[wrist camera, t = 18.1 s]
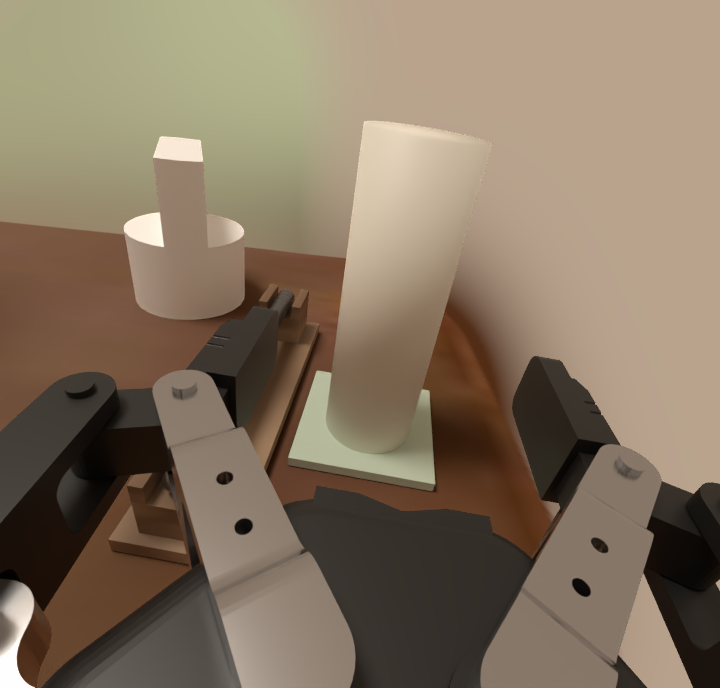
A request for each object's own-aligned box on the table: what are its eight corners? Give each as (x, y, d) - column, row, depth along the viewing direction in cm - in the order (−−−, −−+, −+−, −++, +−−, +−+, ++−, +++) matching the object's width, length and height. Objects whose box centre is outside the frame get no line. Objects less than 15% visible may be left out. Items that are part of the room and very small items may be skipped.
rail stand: (111, 550, 17) (92, 491, 15) (259, 321, 34) (260, 278, 32) (228, 572, 17) (224, 516, 15) (318, 332, 34) (322, 290, 32)
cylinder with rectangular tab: (250, 317, 34) (249, 166, 28) (129, 322, 31) (98, 153, 25) (240, 273, 41) (238, 143, 35) (140, 273, 38) (118, 131, 32)
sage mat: (287, 464, 22) (288, 457, 22) (316, 377, 29) (317, 370, 29) (432, 491, 22) (435, 484, 22) (427, 397, 29) (429, 390, 28)
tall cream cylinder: (318, 444, 23) (357, 126, 14) (333, 387, 27) (369, 117, 19) (409, 461, 23) (504, 151, 14) (409, 400, 27) (481, 136, 18)
